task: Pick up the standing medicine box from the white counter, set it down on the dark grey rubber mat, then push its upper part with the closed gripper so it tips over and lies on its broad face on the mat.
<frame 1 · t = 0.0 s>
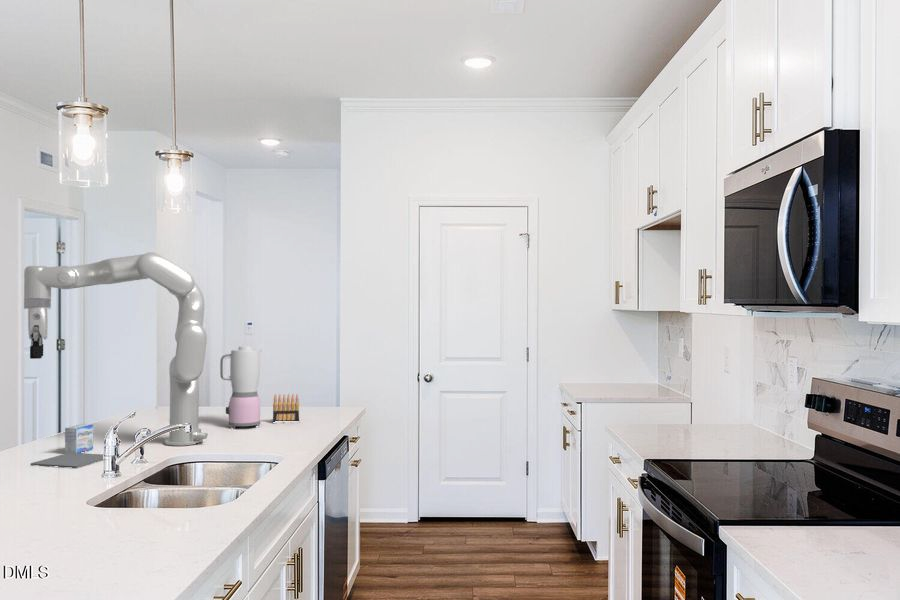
hand: (36, 357, 224), 31 cm above the worktop, tool pointing down, fingers open, 9 cm apart
medicine box: (79, 452, 229), on the worktop
ammunition clip: (286, 423, 289), on the worktop
blender: (240, 427, 278), on the worktop
mat: (73, 461, 215), on the worktop
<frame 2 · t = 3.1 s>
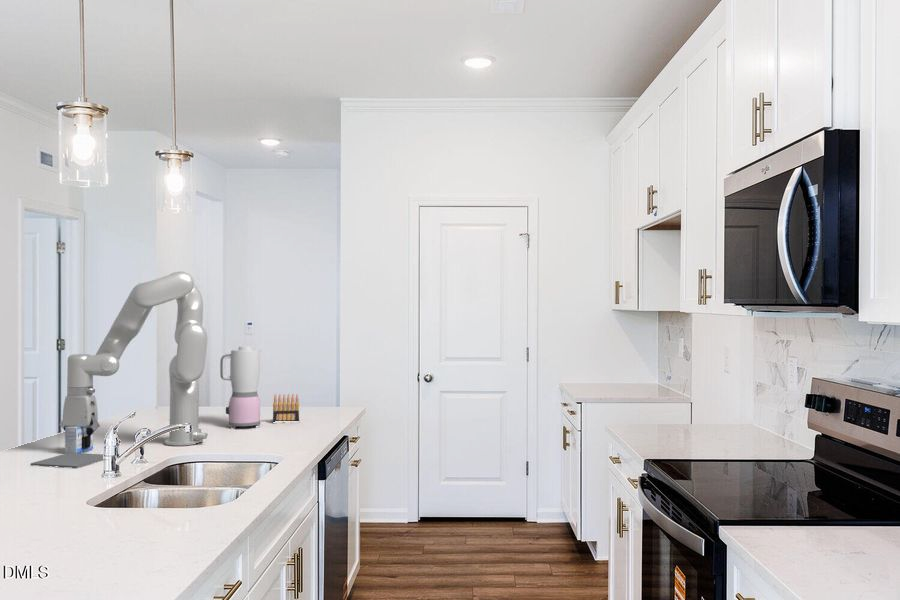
hand: (79, 446, 229), 2 cm above the worktop, tool pointing down, fingers closed on medicine box, 4 cm apart
medicine box: (79, 452, 229), on the worktop, touching gripper
everything else where it was.
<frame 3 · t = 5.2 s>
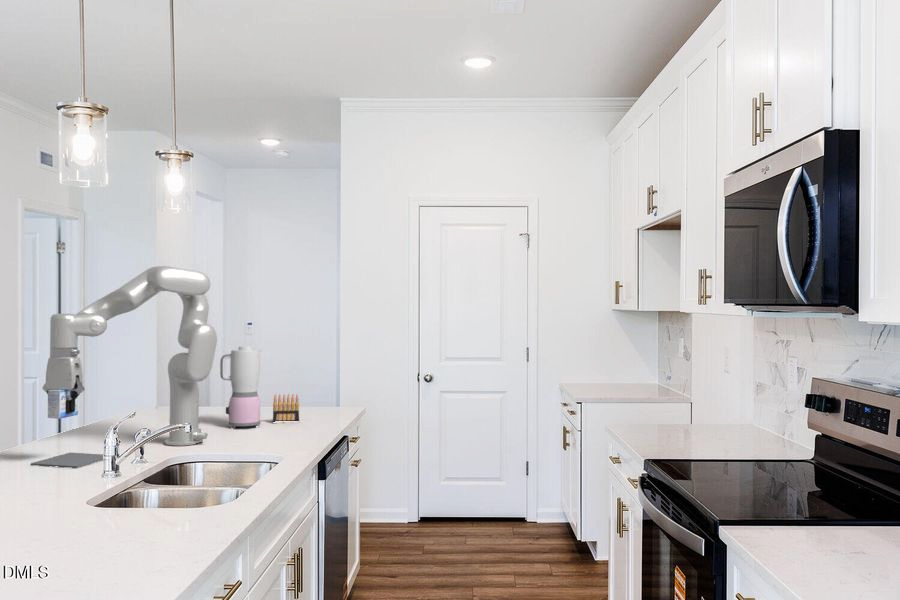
hand: (63, 411, 217), 15 cm above the worktop, tool pointing down, fingers closed on medicine box, 4 cm apart
medicine box: (62, 417, 216), point 13 cm above the worktop, touching gripper
everything else where it was.
when the fingers open (3 cm above the worktop, at t = 7.7 s): medicine box stays where it is, resting on mat.
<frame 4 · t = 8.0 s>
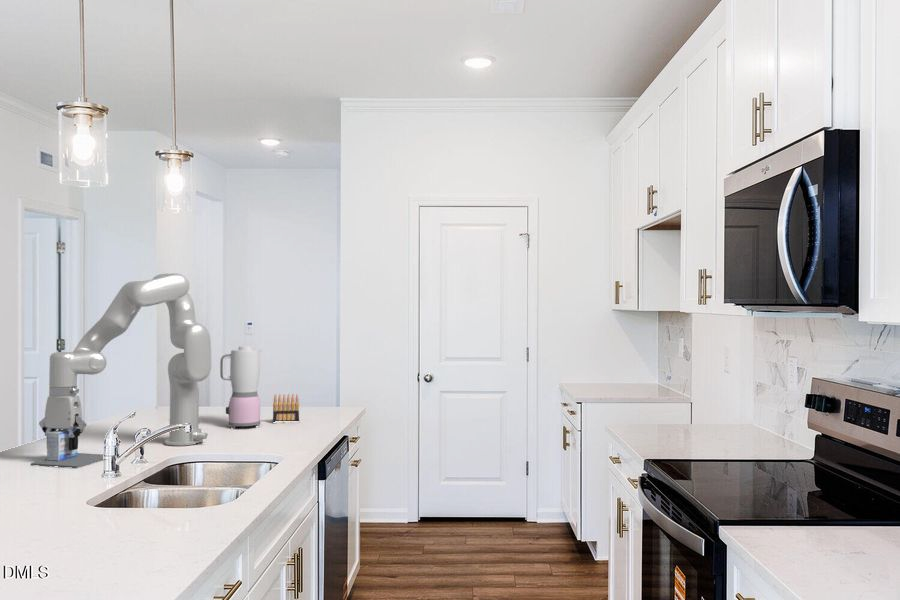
hand: (62, 448, 216), 4 cm above the worktop, tool pointing down, fingers open, 7 cm apart
medicine box: (62, 458, 216), resting on mat
everything else where it was.
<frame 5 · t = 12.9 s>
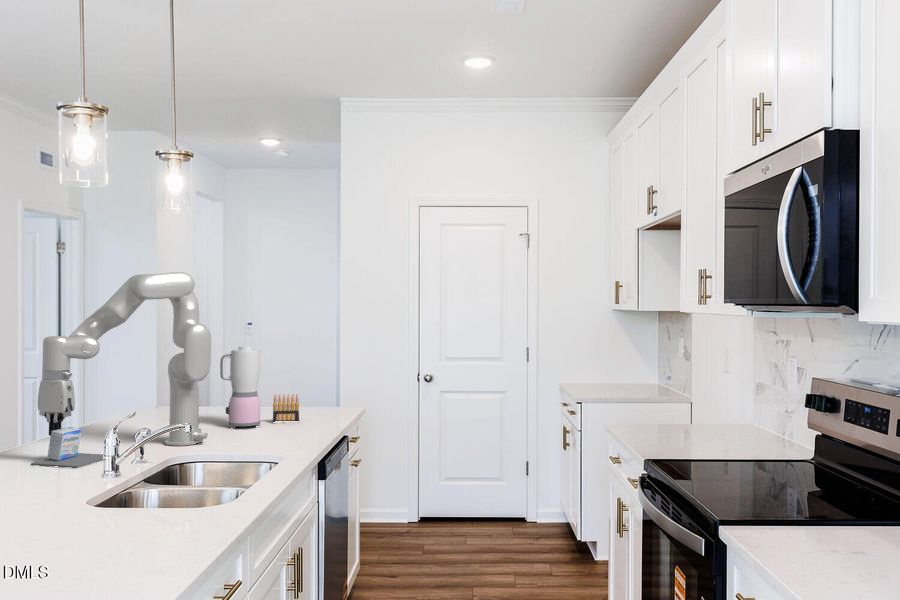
hand: (54, 434, 217), 8 cm above the worktop, tool pointing down, fingers closed
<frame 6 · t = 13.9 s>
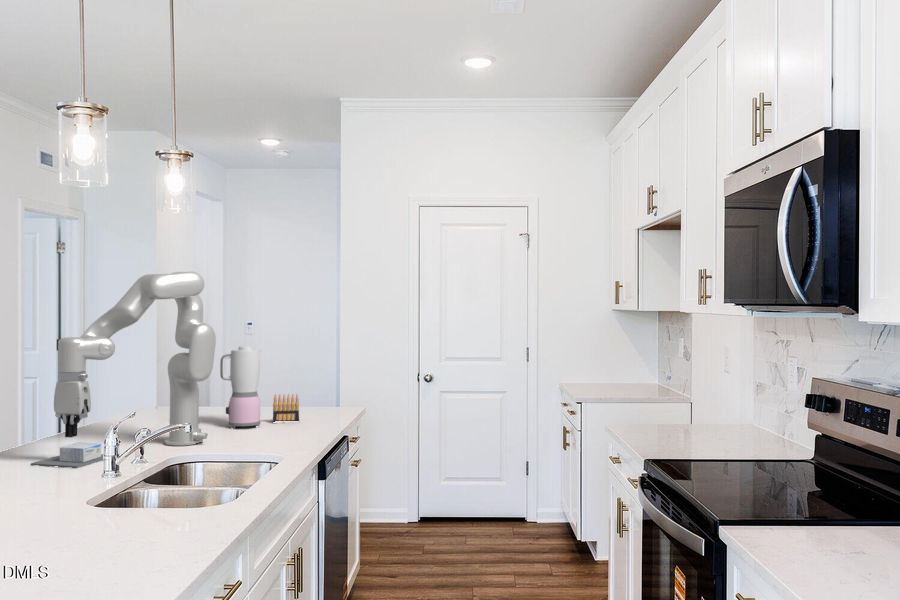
hand: (71, 436, 216), 8 cm above the worktop, tool pointing down, fingers closed
medicine box: (68, 451, 216), point 3 cm above the worktop, touching mat
everything else where it was.
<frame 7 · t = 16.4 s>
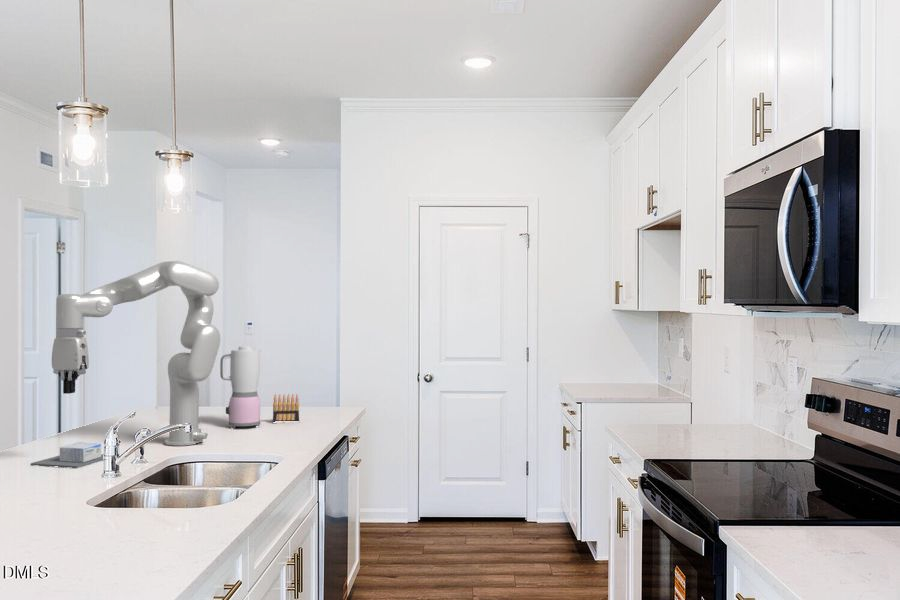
hand: (69, 392, 216), 21 cm above the worktop, tool pointing down, fingers closed
nothing on the worktop moved.
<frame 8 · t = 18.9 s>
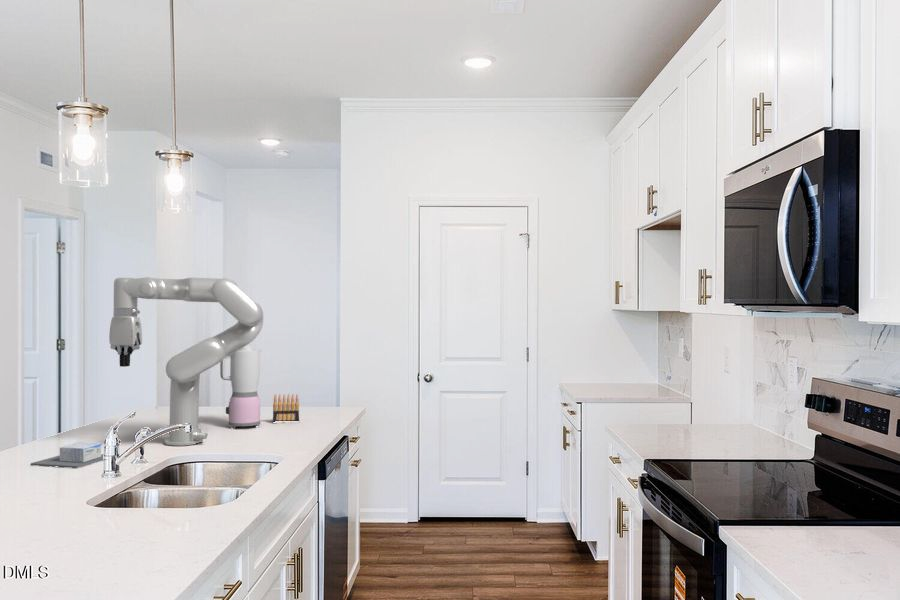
hand: (124, 366, 241), 27 cm above the worktop, tool pointing down, fingers closed
nothing on the worktop moved.
at the end: medicine box tilted 91°; medicine box inside the target area (2.1 cm from its centre), point 2.9 cm above the worktop; the gripper is holding nothing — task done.
